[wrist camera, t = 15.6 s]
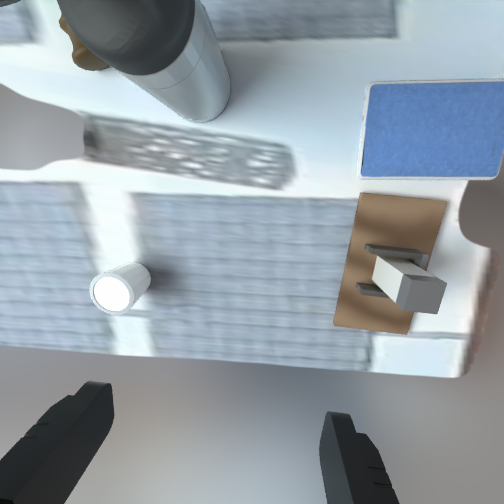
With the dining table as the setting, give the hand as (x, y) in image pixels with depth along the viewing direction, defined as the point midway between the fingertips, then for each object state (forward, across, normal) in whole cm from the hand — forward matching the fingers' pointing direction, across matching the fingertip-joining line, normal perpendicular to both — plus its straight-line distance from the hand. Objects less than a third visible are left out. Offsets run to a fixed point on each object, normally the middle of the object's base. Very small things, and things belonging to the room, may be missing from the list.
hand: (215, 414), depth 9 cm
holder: (+32, -21, +4) cm, 39 cm away
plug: (+32, -21, +4) cm, 38 cm away
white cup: (+33, +20, +10) cm, 40 cm away
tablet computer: (+34, -23, -16) cm, 44 cm away
